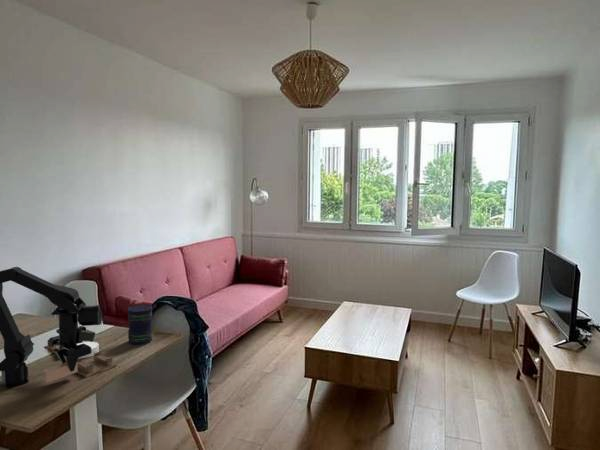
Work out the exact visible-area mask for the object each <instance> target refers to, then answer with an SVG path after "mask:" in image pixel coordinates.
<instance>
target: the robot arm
mask: <svg viewBox="0 0 600 450" xmlns="http://www.w3.org/2000/svg"><path fill="white" fill-rule="evenodd" d="M7 282H14V283H15V284H17V285H20V286H22V287H24V288H27V289H29V290H31V291H33V292H35V293H37V294H39V295H42V296H43V297H46V299H48V301H49V302H50V303H52V304H53V305H54V306H56V308H54V311H52V312H51V315H52V316H57V315H58V329H56V330H55V331H56V333H57V334H58V335H55V336H52V337H49V339H48V340H47V346H49V347H51V348H52V347H53V346H54V344H55V345H56V349H54V351H55V353H56V354H57V355H56V354H55V355H56V356H58V357H59V359H60V360H59V359H58V360H59V361H60V362H61V364H62V363H67V365H68V368H69V370H70V371H71V372H72V371H74V369H75V366H76V363H77V360H78V358H79V357H82V356H85V355H88V354H91V347H90V346H88V345H86V344H84V343H83V344H80V345H77V344H78V343H82V342H88V341H90V342H94V340H95V336H96V332H94V331H92V330H89V329H87V327H86V326H101V324H102V321H103V312H102V309H101V305H100V304H95V305H87V304H86V303H85V301H84V300H83V299H82V298H81V297H80V294H79V291H78V290H76V289H75V288H72V287H68V286H64V285H57V284H54V283H52V282H50V281H47V280H45V279H44V278H41V277H39V276H37V275H35V274H33V273H30V272H28V271H27V270H24V269H22V268H21V267H19V266H14V267H10V268H7V269H4V270H0V336H1V337H2V339H3V353H4V354H3V355H4V357H5V358H3V359H2V360H1V361H0V372H1V381H0V385H1V386H2V387H4V388H5V389H7V390H8V389H12V388H15V387H18V386H21V385H24V384H27V383H29V382H30V380H29V367H28V366H27V363H26V361H27V360H28V358H29V357H30V356H31V355H32V354H33V351H34V345H35V343H34V342H33V341H32V338H31V335H30V334H27V335H24V334H22V333H21V332H20V330H19V327H18V325H17V323H16V322H15V319H14V316H13V315H12V313H11V310H10V309H9V307H8V303H7V302H6V299H5V298H4V295H3V292H4V291H3V288H4V286H3V283H7ZM79 325H80V326H79Z"/></svg>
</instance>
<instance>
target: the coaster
mask: <svg viewBox="0 0 600 450" xmlns="http://www.w3.org/2000/svg"><path fill="white" fill-rule="evenodd" d="M83 343H84V344H86V345H88V346H90V347H91V354H88V355H85V356H82V357H79V358H82V359H85V358H90V357H94V353H96V352H100V349H99V348H100V347H99V346H100V344H99V343H98V342H96V341H93V342H90V341H82V343H77V345H80V344H83Z"/></svg>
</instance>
